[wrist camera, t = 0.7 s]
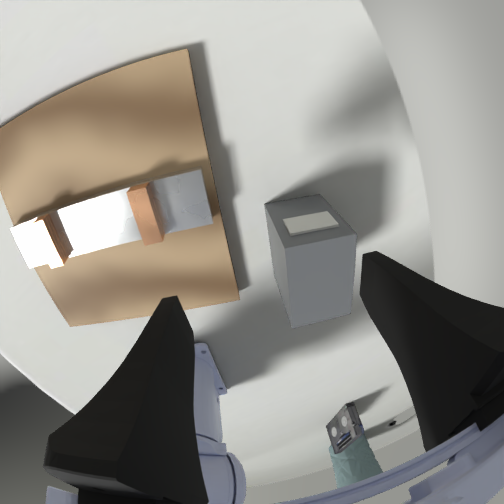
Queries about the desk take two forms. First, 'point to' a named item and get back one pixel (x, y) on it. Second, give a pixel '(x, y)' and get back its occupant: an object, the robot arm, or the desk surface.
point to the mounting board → (114, 175)
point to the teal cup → (354, 463)
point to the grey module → (311, 258)
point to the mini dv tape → (345, 428)
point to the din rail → (116, 218)
